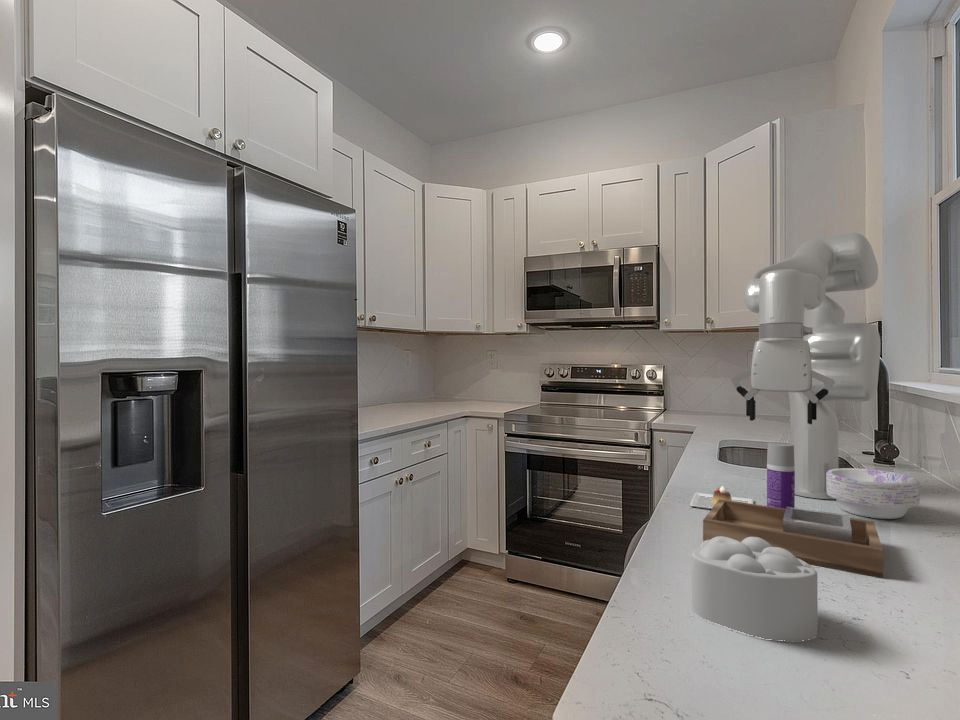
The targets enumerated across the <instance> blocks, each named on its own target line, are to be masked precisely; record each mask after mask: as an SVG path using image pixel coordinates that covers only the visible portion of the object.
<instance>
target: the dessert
mask: <svg viewBox="0 0 960 720" xmlns="http://www.w3.org/2000/svg"><path fill="white" fill-rule="evenodd" d="M700 496H705V497H704V498H707V497H713V498H711V500H710V505H712V506H714V505H715V504H716V503H717V501H718V500H719V499H722V500H729V501H732V500H742V501H748V503H750V504H754V498H746V497H737V496H732V495H731V493H730V491H727V489H726V487H725V486H724V485H722V486H720V487H717V488H716V490H714V492H713V493H702V492H694V493H693V496H692V498H691V500H690V503H689V506H691V507H693V508H695V509H702V508H703V509H704V510H710V509H712V508H713V507H711V506H704V505H697V503H698V504H699V502H698V499H699V497H700ZM700 498H701V497H700ZM699 500H700V499H699Z"/></svg>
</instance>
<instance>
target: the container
mask: <svg viewBox="0 0 960 720" xmlns="http://www.w3.org/2000/svg"><path fill="white" fill-rule="evenodd" d="M766 451H767V454H766V456H767V457H766V506H770V507H777V508H784V509H786V507H794V508H796V507H795V506H796V505H795V504H796V503H795V501H796V499H795V498H796V496H795V463H794V445H793V444H790V443H786V442H777V441H776V442H775V441H774V442H767V450H766Z"/></svg>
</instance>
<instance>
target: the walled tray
mask: <svg viewBox="0 0 960 720" xmlns="http://www.w3.org/2000/svg"><path fill="white" fill-rule="evenodd" d="M709 510H710V509H709ZM785 510H786V509H784V508H777V507H770V506H767V505H763V504H756V503H753V504H750V503H747V502H740V501H729V500H722V499H719V500H718V501H717V503H716V504H715V505H713V507H712V509H711V510H710V511H709V512H708V513H707V515H706V516H705V517H704V518H703V520H702V542H703V541H705V540H711V539H712V538H714V537H717V536H724V537H728V538H732V539H734V540H737V541H740V542H742V541H743V540H744V539H745V538H747V537H759V538H761V539H764V540H765V541H767V542H768V543H769V544H770V545H771V546H772V547H779V548H783V549H785V550H787V551H789V552H791V553H792V554H793V555H794V556H795V557H796V558H798V559H801V560H803V561H804V562H806V563H808V564H809V565H811V566H817V567H820V568H821V567H822V568H827V569H832V570H837V571H843V572H847V573H853V574H859V575H864V576H869V577H875V578H880V579H884V549H883V546H882V543H881V540H880V536H879V534H878V530H877V528H876V524H875V521H873V520H868V519H860V518H852V517H850V523H851V529H852V543H850V542H844V541H838V540H832V539H826V538H820V537H814V536H808V535H802V534H796V533H790V532H784V531H783V518H784V514H785Z"/></svg>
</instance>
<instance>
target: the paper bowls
mask: <svg viewBox="0 0 960 720" xmlns="http://www.w3.org/2000/svg"><path fill="white" fill-rule="evenodd" d="M826 475H827V476H826V489H827V494H828V495H829V496H831V497H833V498H836V499H835V500H836V502H837V503H838V505H839V507H840V508H841V509H842V510H843V511H845V512H846V513H849V514H852V515H855V516H859V517H864V518H865V517H866V518H869V517H870V518H871V519H879V520H895V519H896V520H897V519H899V518H902V517H903V516H905V514H906V513H907V512H908V510H909V509H910V508H916V507H918V506H920V501H921V500H920V498H921V497H920V495H921V493H920V481H919V480H918V479H917V478H916V477H913V476H911V475H907V474H904V473H899V472H893V471H887V470H879V469H871V468H870V469H869V468H857V467H856V468H855V467H853V468H852V467H847V468H845V467H843V468H842V467H841V468H840V467H839V468H838V469H832V470H829V471H827V472H826Z"/></svg>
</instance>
